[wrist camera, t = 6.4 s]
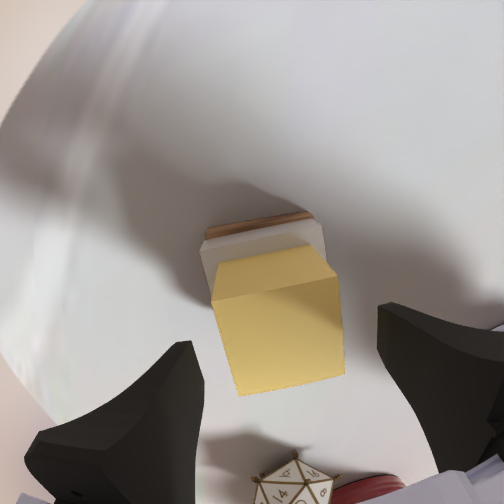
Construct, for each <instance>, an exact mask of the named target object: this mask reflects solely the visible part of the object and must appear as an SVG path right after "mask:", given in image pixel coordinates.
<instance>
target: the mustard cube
mask: <svg viewBox="0 0 504 504" xmlns="http://www.w3.org/2000/svg"><path fill="white" fill-rule="evenodd" d="M211 304H212V307H213V311H214V314H215V318H216V322H217V325H218V329H219V332H220V336H221V339H222V342H223V346H224V349H225V353H226V356H227V359H228V363H229V366H230V369H231V373H232V376H233V379H234V382H235V386H236V389H237V392H238V395H239V396H245V395H251V394H257V393H263V392H268V391H273V390H279V389H284V388H289V387H293V386H298V385H303V384H307V383H311V382H316V381H320V380H324V379H328V378H332V377H336V376H340V375H343V374H345V359H344V342H343V327H342V314H341V302H340V292H339V282H338V275H337V274H336V273H335V272H334V271H333V269H332V268H331V267H330V266H329V265H328V264H327V263H326V261H325V260H324V259H323V258H322V257H321V256H320V255H319V254H318V252H317V251H316V250H315V249H314V248H313V247H312V246H311V245H310V244H309V245H304V246H299V247H294V248H289V249H284V250H279V251H274V252H269V253H264V254H260V255H255V256H250V257H245V258H240V259H235V260H230V261H225V262H220V263H219V264H218V269H217V274H216V279H215V284H214V289H213V294H212V299H211Z"/></svg>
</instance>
